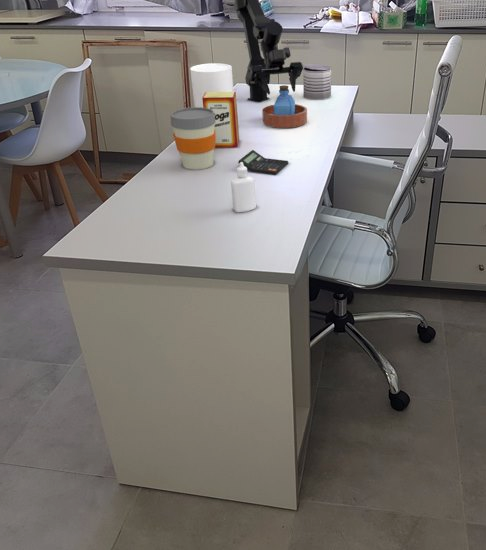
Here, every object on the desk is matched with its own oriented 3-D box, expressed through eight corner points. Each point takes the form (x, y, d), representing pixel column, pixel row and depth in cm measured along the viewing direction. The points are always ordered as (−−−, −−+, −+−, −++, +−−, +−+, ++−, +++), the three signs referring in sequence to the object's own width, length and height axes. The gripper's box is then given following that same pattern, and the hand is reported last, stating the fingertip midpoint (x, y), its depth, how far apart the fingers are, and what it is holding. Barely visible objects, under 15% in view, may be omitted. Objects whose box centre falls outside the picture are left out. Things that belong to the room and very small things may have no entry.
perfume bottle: (291, 124, 199) (290, 88, 193) (274, 123, 200) (272, 88, 194) (295, 118, 204) (294, 84, 198) (278, 118, 205) (277, 84, 199)
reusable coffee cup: (226, 158, 171) (222, 108, 163) (207, 173, 161) (201, 121, 153) (189, 154, 175) (183, 105, 167) (168, 169, 165) (161, 117, 157)
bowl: (253, 123, 202) (253, 110, 199) (283, 113, 212) (282, 101, 209) (287, 131, 193) (286, 118, 191) (315, 120, 203) (315, 108, 201)
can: (301, 93, 237) (301, 63, 230) (329, 92, 238) (329, 62, 231) (305, 100, 227) (304, 69, 221) (333, 99, 228) (333, 68, 222)
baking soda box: (239, 140, 186) (235, 90, 177) (237, 147, 180) (233, 95, 172) (210, 141, 186) (205, 91, 177) (207, 147, 180) (202, 96, 172)
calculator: (275, 175, 160) (275, 164, 158) (238, 170, 163) (237, 160, 161) (288, 163, 167) (287, 153, 165) (252, 159, 170) (251, 149, 169)
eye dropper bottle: (234, 205, 142) (230, 159, 136) (256, 205, 142) (253, 159, 136) (232, 212, 139) (228, 166, 132) (255, 212, 139) (252, 165, 132)
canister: (189, 131, 195) (182, 70, 185) (209, 120, 206) (203, 62, 195) (224, 135, 191) (218, 73, 180) (242, 123, 201) (238, 64, 191)
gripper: (249, 41, 192) (260, 81, 189) (300, 37, 197) (312, 76, 194) (244, 61, 203) (254, 100, 199) (294, 57, 208) (304, 94, 205)
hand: (281, 92), depth 199 cm, fingers open, 9 cm apart
